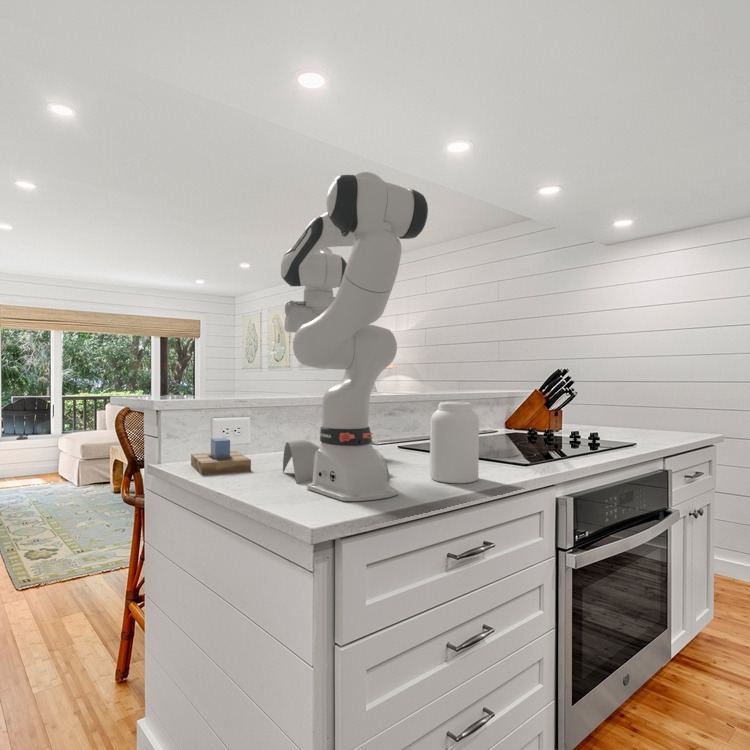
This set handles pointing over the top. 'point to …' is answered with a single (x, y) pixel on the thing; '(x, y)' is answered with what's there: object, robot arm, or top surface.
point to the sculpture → (305, 458)
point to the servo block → (220, 448)
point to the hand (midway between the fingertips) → (317, 348)
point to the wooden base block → (220, 463)
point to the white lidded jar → (454, 443)
